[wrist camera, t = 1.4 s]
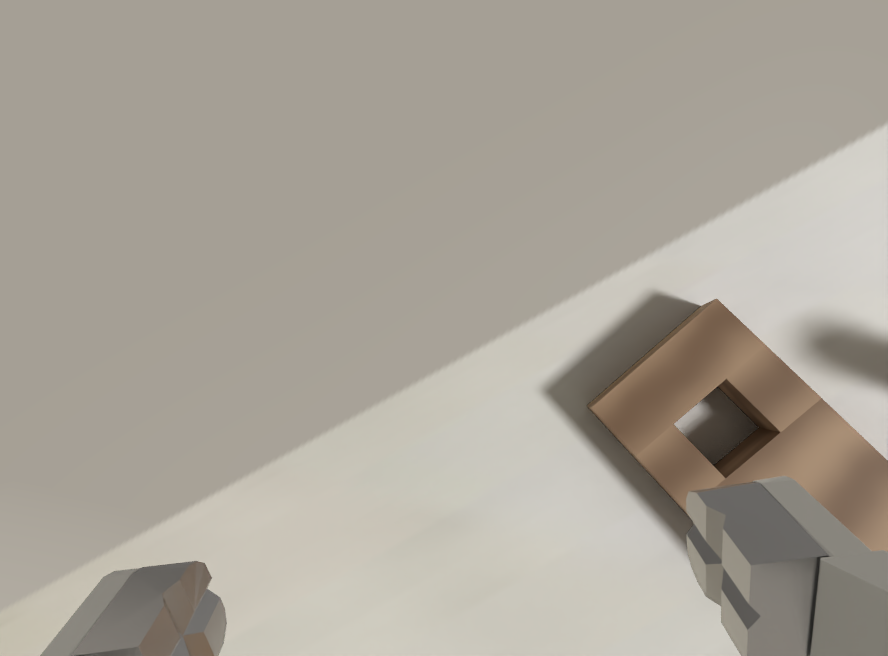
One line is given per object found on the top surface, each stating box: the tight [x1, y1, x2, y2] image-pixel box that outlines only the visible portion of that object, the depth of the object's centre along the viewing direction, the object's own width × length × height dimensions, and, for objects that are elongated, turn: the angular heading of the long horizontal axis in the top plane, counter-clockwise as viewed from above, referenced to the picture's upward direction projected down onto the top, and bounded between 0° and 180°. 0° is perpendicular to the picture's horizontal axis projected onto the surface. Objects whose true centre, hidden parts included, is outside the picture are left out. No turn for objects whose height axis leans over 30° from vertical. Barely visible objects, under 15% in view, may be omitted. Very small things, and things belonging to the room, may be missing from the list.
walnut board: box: [587, 299, 888, 552], centre depth 36 cm, size 22×12×4 cm, turn 41°
